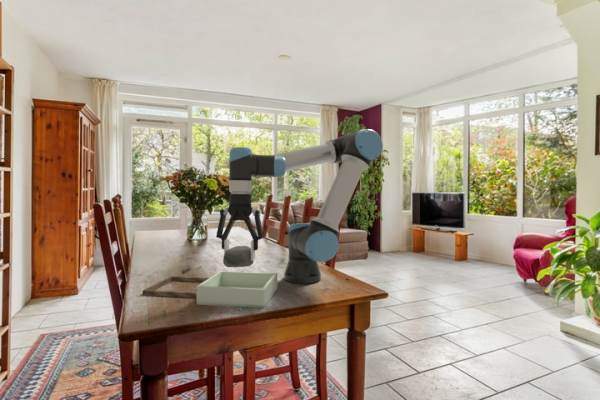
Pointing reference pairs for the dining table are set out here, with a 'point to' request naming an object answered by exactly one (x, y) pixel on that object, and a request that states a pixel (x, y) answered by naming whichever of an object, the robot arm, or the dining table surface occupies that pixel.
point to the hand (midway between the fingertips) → (239, 259)
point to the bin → (237, 289)
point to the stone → (238, 257)
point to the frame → (155, 292)
